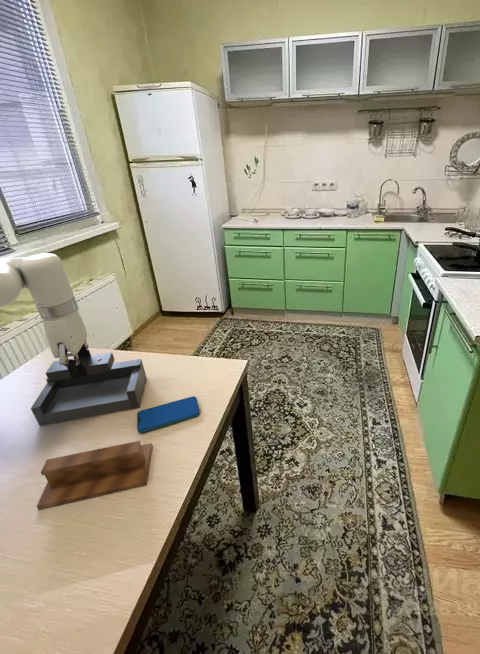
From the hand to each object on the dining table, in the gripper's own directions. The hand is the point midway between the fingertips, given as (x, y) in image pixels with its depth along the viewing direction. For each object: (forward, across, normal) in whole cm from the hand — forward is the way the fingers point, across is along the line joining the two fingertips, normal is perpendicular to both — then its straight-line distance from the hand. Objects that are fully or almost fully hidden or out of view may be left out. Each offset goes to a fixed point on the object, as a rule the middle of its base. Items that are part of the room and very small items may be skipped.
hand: (82, 369), depth 83 cm
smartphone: (+12, +10, +20) cm, 25 cm away
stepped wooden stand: (+12, +24, +7) cm, 27 cm away
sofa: (+12, -2, 0) cm, 12 cm away
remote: (0, 0, 0) cm, 0 cm away
